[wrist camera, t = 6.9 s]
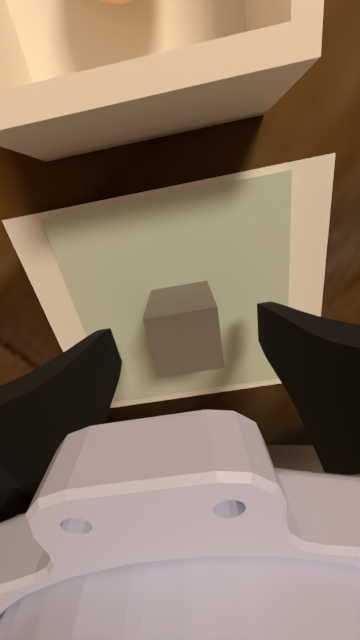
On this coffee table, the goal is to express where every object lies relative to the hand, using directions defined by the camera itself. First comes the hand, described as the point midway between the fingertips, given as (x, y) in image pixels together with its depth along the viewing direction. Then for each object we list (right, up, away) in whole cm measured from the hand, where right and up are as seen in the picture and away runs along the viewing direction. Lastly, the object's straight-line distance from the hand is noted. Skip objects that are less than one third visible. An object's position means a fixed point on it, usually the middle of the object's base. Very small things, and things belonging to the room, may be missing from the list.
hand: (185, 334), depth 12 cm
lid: (0, +2, +2) cm, 3 cm away
